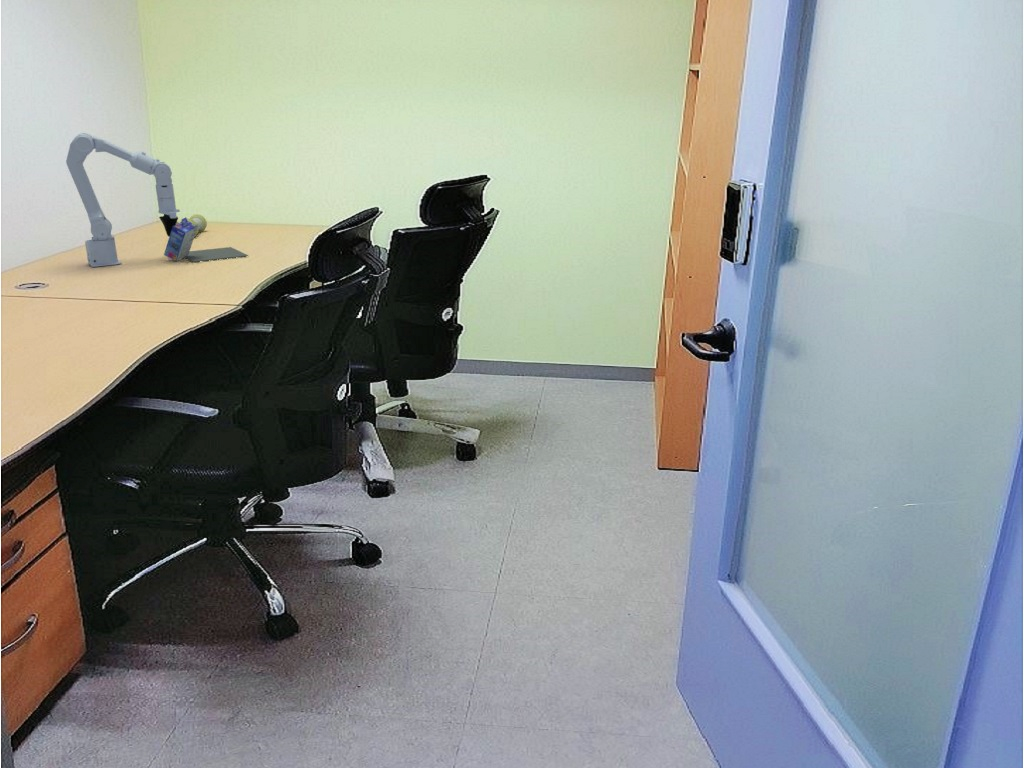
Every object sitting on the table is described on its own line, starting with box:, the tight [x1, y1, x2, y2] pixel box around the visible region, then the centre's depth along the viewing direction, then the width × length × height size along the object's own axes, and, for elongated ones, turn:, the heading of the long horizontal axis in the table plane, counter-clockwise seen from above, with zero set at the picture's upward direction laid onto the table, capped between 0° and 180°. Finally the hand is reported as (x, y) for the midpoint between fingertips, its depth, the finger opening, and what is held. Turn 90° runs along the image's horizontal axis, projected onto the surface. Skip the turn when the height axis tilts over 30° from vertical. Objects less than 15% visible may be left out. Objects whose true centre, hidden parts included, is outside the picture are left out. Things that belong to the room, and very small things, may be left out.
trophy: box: [176, 214, 208, 237], centre depth 345 cm, size 8×8×30 cm
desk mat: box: [184, 246, 249, 263], centre depth 309 cm, size 20×20×1 cm
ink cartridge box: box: [163, 217, 198, 262], centre depth 299 cm, size 10×6×14 cm, turn 175°
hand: (171, 236), depth 299 cm, fingers closed
